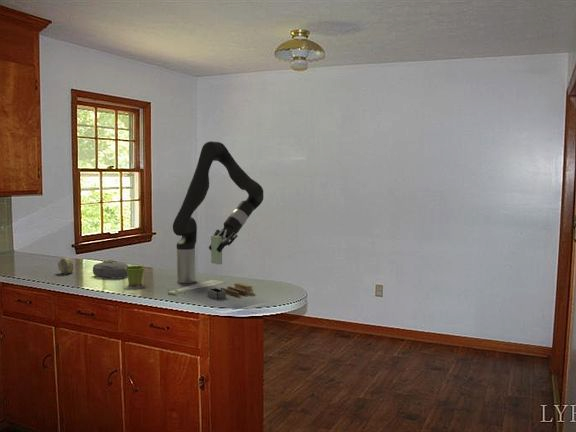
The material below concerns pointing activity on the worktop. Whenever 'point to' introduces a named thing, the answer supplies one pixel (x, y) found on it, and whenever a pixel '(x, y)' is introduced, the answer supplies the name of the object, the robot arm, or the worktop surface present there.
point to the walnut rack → (235, 292)
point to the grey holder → (216, 293)
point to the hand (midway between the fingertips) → (214, 250)
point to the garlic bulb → (65, 265)
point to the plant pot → (135, 274)
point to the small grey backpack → (110, 269)
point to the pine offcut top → (243, 286)
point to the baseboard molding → (197, 286)
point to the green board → (215, 255)
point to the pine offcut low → (246, 291)
